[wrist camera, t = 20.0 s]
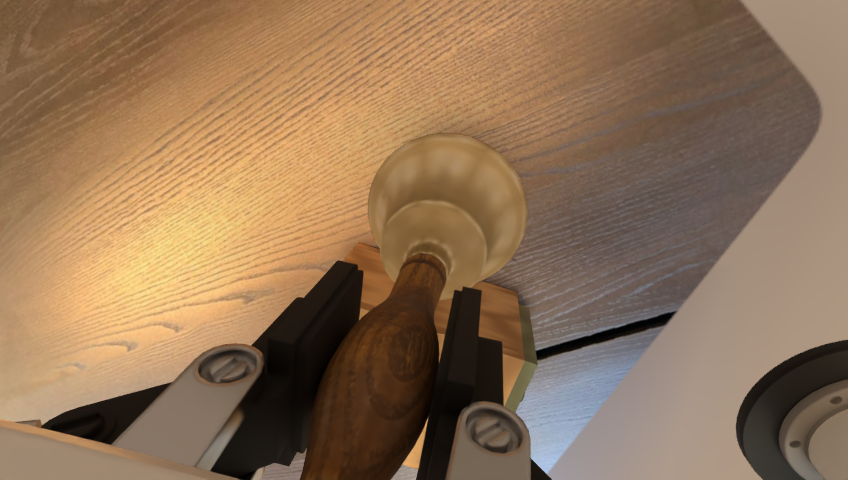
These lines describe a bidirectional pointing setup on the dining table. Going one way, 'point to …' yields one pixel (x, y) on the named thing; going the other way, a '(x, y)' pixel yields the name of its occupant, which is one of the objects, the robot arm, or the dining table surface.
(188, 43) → the dining table surface
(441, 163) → the hand bell
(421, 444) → the cabinet
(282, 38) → the dining table surface
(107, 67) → the dining table surface
